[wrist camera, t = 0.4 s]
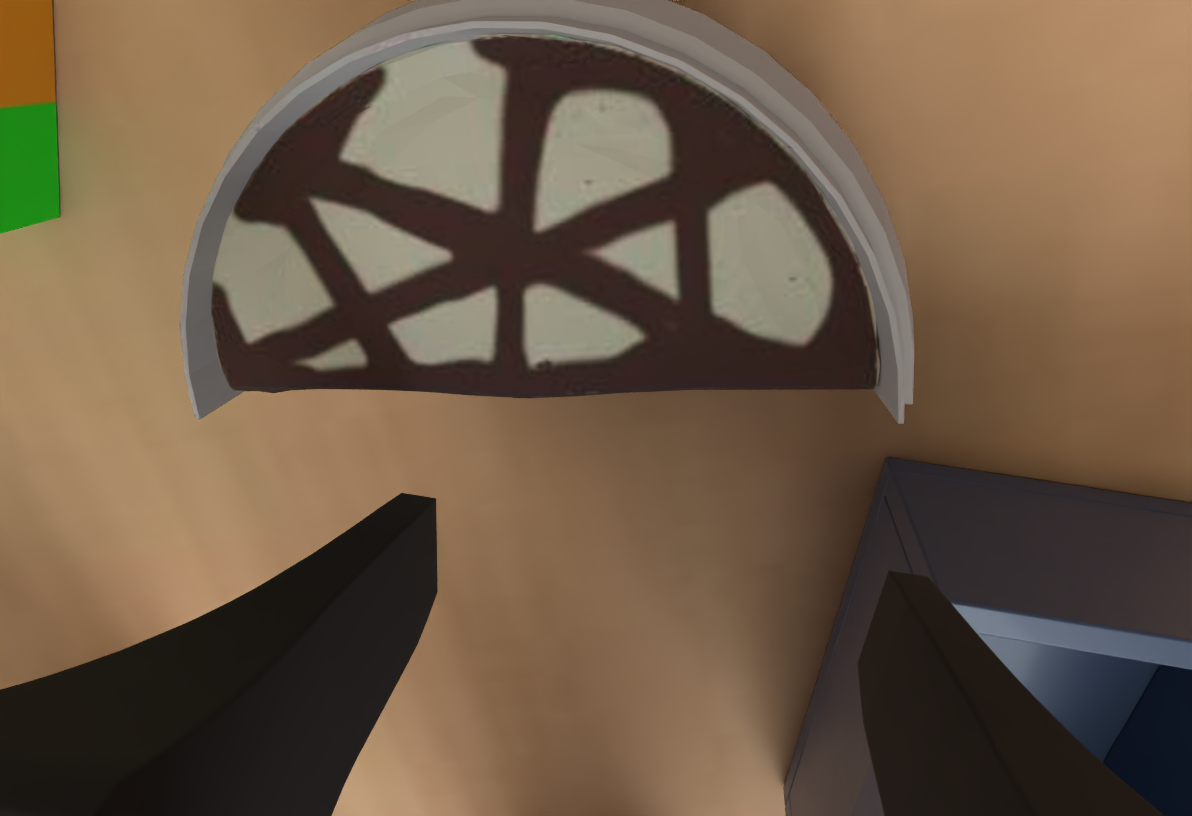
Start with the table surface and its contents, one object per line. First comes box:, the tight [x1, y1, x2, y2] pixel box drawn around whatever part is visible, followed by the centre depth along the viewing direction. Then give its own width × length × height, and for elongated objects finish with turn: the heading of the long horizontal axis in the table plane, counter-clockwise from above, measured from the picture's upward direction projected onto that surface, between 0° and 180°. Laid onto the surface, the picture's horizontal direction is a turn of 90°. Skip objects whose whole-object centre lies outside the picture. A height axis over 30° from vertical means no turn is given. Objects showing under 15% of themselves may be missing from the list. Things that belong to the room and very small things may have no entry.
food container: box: [180, 0, 914, 424], centre depth 15 cm, size 12×6×10 cm, turn 94°
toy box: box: [784, 457, 1192, 816], centre depth 22 cm, size 10×15×6 cm
